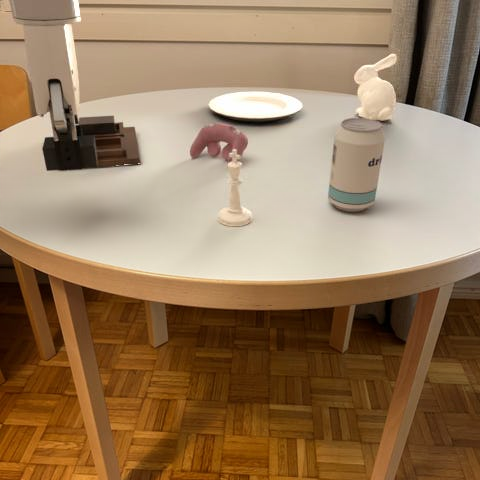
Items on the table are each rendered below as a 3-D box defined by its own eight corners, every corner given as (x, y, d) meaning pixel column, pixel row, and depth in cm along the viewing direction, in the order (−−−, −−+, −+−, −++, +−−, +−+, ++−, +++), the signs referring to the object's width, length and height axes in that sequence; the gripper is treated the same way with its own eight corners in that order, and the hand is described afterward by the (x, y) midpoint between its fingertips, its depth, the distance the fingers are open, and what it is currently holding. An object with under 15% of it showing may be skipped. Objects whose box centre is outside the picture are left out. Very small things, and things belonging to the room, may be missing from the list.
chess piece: (233, 208, 79) (233, 141, 73) (259, 218, 76) (260, 149, 70) (210, 219, 76) (208, 150, 70) (236, 230, 73) (236, 159, 67)
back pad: (46, 171, 69) (42, 148, 68) (49, 158, 73) (44, 137, 71) (97, 168, 71) (94, 145, 69) (97, 156, 74) (94, 134, 72)
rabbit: (345, 110, 120) (352, 52, 113) (382, 106, 122) (391, 49, 115) (372, 126, 111) (382, 63, 103) (411, 122, 113) (423, 60, 106)
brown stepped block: (58, 170, 90) (53, 146, 88) (63, 137, 104) (59, 115, 102) (140, 164, 93) (138, 140, 90) (135, 132, 107) (132, 111, 104)
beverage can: (364, 219, 76) (378, 135, 69) (320, 208, 79) (328, 126, 71) (379, 201, 81) (393, 121, 74) (336, 192, 84) (346, 113, 76)
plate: (304, 101, 125) (304, 93, 124) (298, 129, 109) (299, 119, 108) (217, 97, 128) (217, 89, 127) (199, 124, 111) (199, 114, 110)
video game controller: (244, 171, 94) (254, 131, 93) (231, 167, 90) (241, 125, 89) (200, 160, 99) (209, 121, 97) (186, 155, 95) (195, 115, 93)
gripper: (19, -3, 66) (48, 142, 77) (0, 18, 53) (38, 189, 64) (81, -3, 68) (100, 140, 79) (76, 17, 55) (101, 185, 66)
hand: (72, 160), depth 71 cm, fingers closed on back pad, 4 cm apart
